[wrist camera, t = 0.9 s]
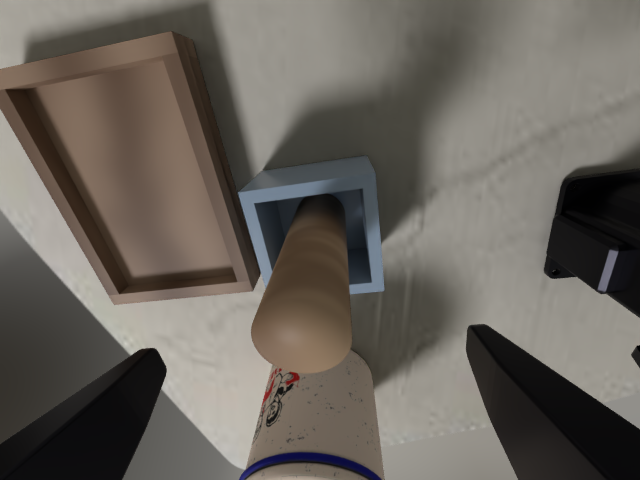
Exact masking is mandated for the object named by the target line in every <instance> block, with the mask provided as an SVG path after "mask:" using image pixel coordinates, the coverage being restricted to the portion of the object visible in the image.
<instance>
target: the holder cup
mask: <svg viewBox="0 0 640 480" xmlns="http://www.w3.org/2000/svg"><path fill="white" fill-rule="evenodd" d="M325 193H328V194H331V195H333V196H334V197H336V198H337V199H338V200H339V201H340V202H341V203H342V205H343V207H344V210H345V218H346V236H347V253H348V271H349V289H350V294H359V293H370V292H381V291H384V278H383V265H382V252H381V239H380V225H379V212H378V199H377V186H376V173H375V171H374V169H373V167H372V165H371V163H370V161H369V159H368V157H367V155H364V156H358V157H351V158H344V159H338V160H331V161H324V162H318V163H311V164H305V165H298V166H291V167H285V168H278V169H272V170H265V171H261V172H260V173H259V174H258V175H257V176H256V177H255V178H254V179H252V180H251V181H250V182H249V183H248V184H247V185H246V186H245V187H244V188H242V189H241V190H240V191H239V192H238V194H239V198H240V201H241V205H242V208H243V212H244V215H245V219H246V222H247V226H248V229H249V233H250V236H251V239H252V243H253V246H254V250H255V253H256V257H257V260H258V264H259V267H260V271H261V274H262V277H263V281H264V284H265V288H266V287H267V285H268V282H269V279H270V277H271V274H272V272H273V269H274V267H275V264H276V262H277V259H278V256H279V254H280V251H281V249H282V246H283V244H284V241H285V238H286V236H287V233H288V231H289V228H290V226H291V223H292V221H293V218H294V215H295V213H296V210H297V208H298V205H299V204H300V202H301V201H302V200H303V199H304V198H305V197H306V196H311V195H318V194H325Z"/></svg>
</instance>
